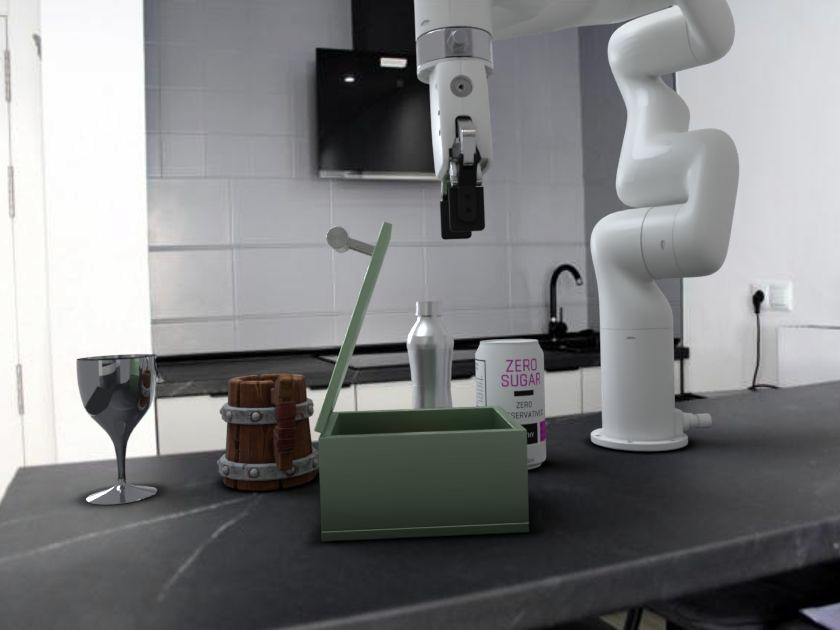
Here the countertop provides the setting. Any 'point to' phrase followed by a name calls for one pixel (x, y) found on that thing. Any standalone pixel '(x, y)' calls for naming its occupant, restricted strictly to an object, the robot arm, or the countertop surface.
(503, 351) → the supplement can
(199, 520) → the countertop surface
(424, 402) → the silver metal bottle
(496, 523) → the green box
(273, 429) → the mug
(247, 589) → the countertop surface
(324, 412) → the lid
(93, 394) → the wine glass
